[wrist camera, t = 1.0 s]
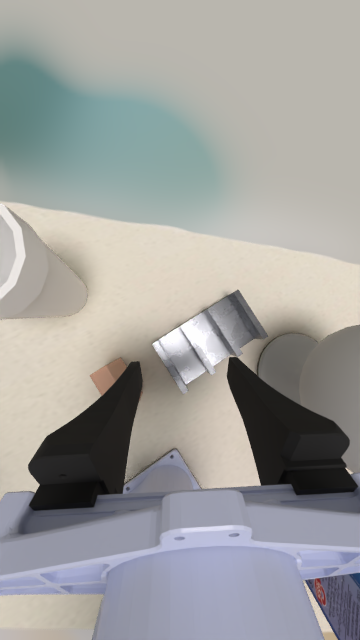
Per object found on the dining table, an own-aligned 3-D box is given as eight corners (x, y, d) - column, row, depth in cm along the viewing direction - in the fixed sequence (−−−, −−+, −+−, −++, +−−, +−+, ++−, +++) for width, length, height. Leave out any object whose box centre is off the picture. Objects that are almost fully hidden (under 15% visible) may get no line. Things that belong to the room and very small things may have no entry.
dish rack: (180, 385, 25) (183, 394, 21) (153, 342, 25) (151, 344, 21) (254, 335, 26) (268, 336, 23) (228, 295, 26) (238, 289, 23)
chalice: (243, 410, 25) (355, 521, 10) (258, 319, 27) (376, 301, 12) (329, 425, 26) (546, 548, 11) (339, 336, 27) (546, 341, 12)
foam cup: (27, 268, 24) (-132, 195, 11) (92, 258, 25) (14, 180, 12) (36, 333, 24) (-119, 333, 11) (103, 320, 25) (33, 307, 12)
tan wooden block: (130, 400, 24) (118, 422, 18) (108, 365, 24) (89, 375, 18) (142, 392, 24) (134, 412, 18) (120, 357, 24) (105, 365, 18)
